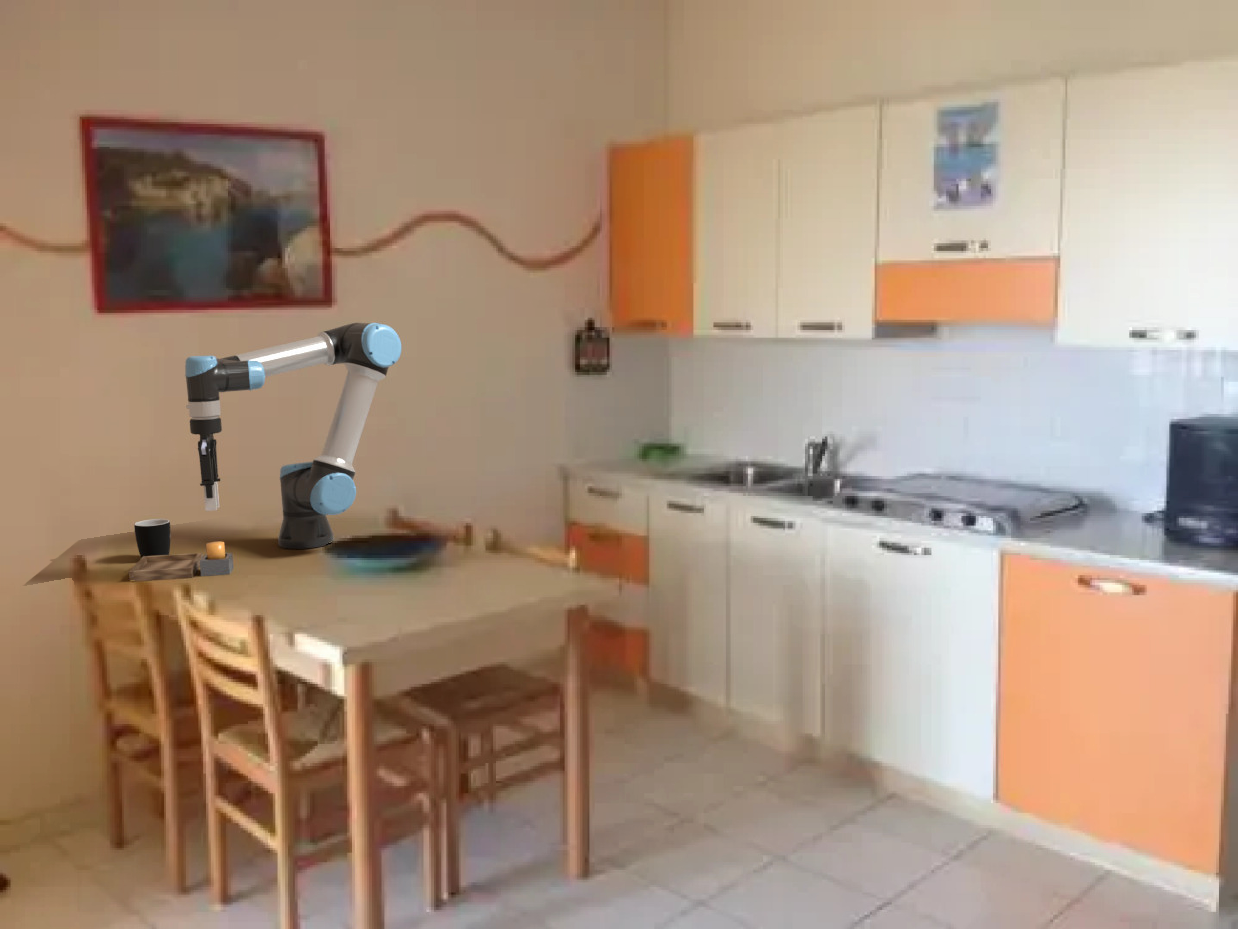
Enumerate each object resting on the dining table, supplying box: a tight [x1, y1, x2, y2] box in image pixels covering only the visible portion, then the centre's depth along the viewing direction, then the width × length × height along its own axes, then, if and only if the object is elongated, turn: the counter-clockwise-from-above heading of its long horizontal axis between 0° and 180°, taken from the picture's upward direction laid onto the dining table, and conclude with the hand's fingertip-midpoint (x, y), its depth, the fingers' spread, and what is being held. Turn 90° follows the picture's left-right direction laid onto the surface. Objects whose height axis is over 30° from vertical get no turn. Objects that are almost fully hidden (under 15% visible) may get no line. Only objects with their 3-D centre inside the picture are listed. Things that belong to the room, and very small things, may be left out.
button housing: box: [199, 552, 234, 577], centre depth 310 cm, size 7×7×4 cm
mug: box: [134, 518, 171, 559], centre depth 327 cm, size 12×9×10 cm
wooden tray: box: [128, 552, 204, 582], centre depth 312 cm, size 15×17×2 cm
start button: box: [205, 541, 226, 559], centre depth 310 cm, size 4×4×5 cm
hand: (212, 508), depth 308 cm, fingers open, 3 cm apart
